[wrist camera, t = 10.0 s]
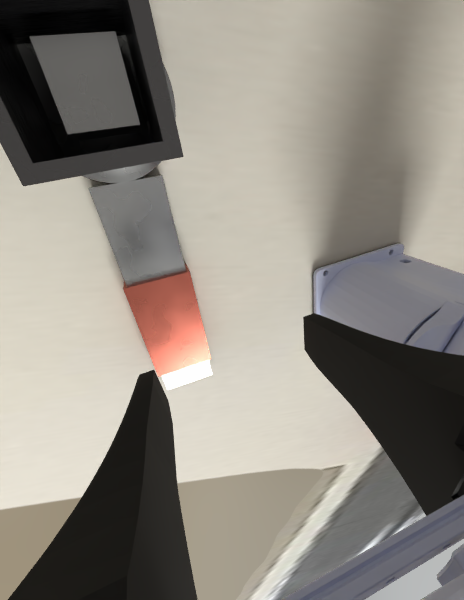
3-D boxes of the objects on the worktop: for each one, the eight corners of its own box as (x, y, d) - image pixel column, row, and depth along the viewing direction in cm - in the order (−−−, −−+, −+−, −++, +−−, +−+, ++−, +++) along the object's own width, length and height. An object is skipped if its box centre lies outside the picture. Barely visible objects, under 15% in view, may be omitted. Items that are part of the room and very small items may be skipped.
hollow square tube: (134, 15, 11) (131, -75, 7) (169, 159, 14) (183, 156, 10) (-9, 25, 10) (-114, -73, 6) (60, 179, 13) (23, 186, 9)
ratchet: (150, 15, 13) (157, -60, 9) (223, 358, 24) (241, 399, 20) (-8, 22, 11) (-94, -62, 7) (148, 383, 23) (151, 432, 19)
